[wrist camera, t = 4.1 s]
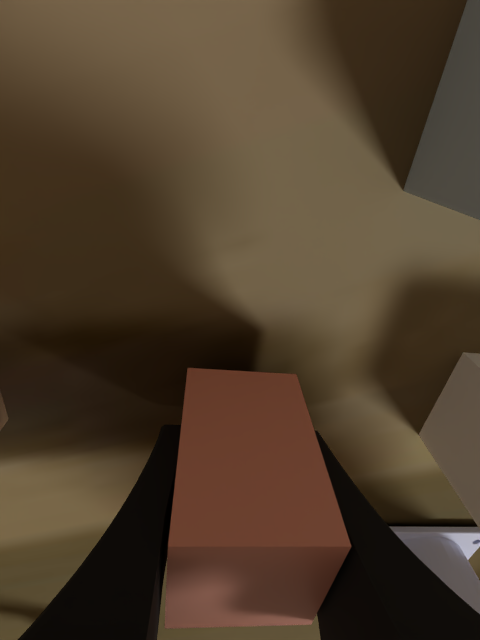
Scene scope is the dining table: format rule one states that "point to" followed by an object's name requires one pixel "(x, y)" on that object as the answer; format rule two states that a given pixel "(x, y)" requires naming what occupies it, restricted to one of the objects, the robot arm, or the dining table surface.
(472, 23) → the blue-grey block
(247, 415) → the brick-red block
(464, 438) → the pale grey block
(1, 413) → the walnut block
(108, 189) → the dining table surface
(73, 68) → the dining table surface
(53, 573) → the dining table surface
